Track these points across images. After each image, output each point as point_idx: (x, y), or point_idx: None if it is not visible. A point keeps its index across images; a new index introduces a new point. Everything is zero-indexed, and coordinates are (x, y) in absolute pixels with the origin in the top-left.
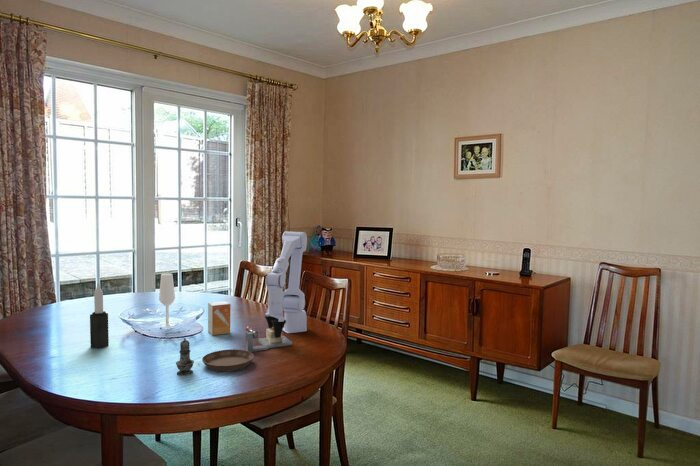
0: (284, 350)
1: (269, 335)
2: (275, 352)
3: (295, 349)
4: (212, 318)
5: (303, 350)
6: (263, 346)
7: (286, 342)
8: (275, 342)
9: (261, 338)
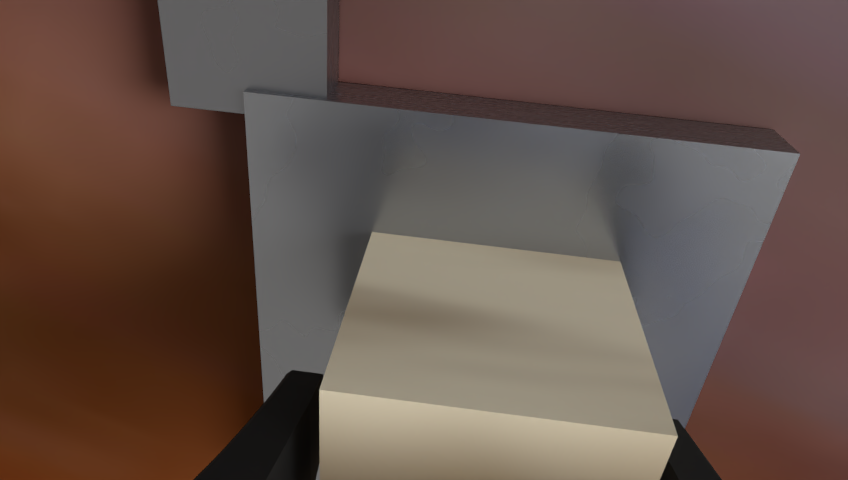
0: (78, 282)
1: (409, 321)
2: (6, 129)
3: (86, 403)
4: None
5: (25, 449)
6: (237, 30)
7: None
8: None
9: (752, 213)
